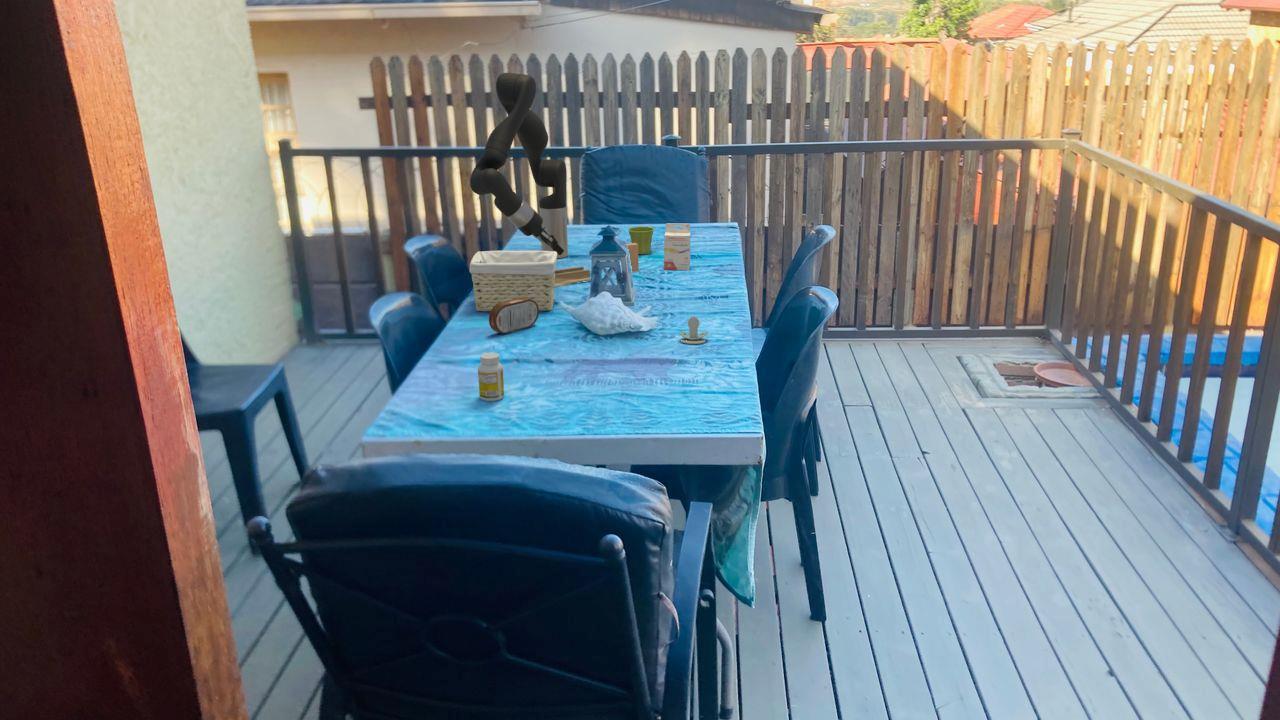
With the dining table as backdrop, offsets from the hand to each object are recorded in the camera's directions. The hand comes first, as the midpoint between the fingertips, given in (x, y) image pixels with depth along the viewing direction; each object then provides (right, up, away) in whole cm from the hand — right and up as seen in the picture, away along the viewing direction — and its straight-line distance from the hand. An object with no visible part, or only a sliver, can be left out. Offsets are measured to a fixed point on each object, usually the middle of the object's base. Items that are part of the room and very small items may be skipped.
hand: (561, 252), depth 301 cm
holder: (0, -9, +3) cm, 9 cm away
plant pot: (+25, +4, +38) cm, 46 cm away
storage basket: (-11, -18, -24) cm, 32 cm away
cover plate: (+18, -5, +12) cm, 22 cm away
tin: (-8, -26, -46) cm, 53 cm away
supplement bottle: (-8, -42, -92) cm, 101 cm away
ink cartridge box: (+37, -4, +17) cm, 41 cm away
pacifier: (+38, -29, -57) cm, 74 cm away
